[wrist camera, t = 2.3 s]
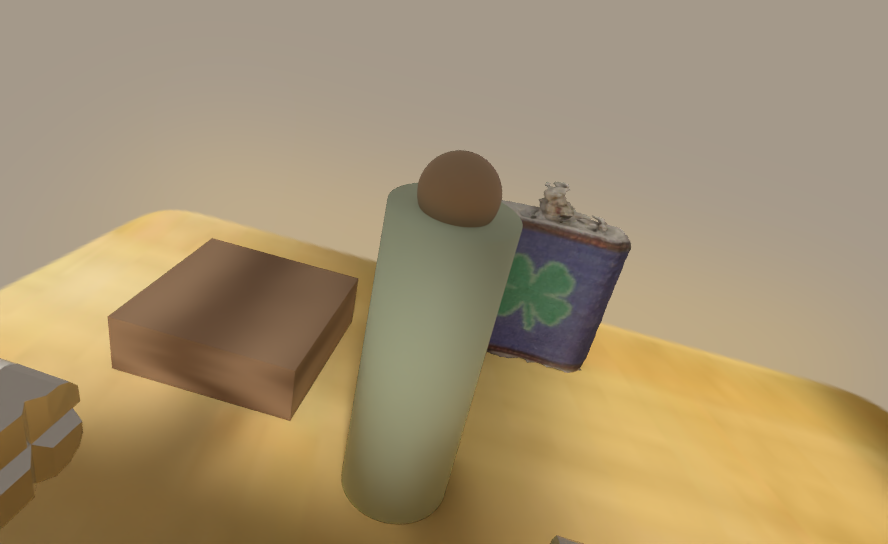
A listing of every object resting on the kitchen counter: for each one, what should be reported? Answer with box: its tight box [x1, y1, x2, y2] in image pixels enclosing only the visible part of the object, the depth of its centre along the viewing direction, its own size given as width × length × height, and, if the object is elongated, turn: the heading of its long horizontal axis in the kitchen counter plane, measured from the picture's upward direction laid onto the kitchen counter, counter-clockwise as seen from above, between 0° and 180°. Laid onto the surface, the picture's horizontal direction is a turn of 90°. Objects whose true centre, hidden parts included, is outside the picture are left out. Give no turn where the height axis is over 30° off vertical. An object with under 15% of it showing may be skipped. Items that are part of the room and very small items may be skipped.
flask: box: [486, 182, 631, 373], centre depth 34 cm, size 9×3×11 cm, turn 82°
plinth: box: [108, 238, 358, 421], centre depth 31 cm, size 9×9×3 cm
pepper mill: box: [341, 150, 523, 524], centre depth 22 cm, size 5×5×15 cm
